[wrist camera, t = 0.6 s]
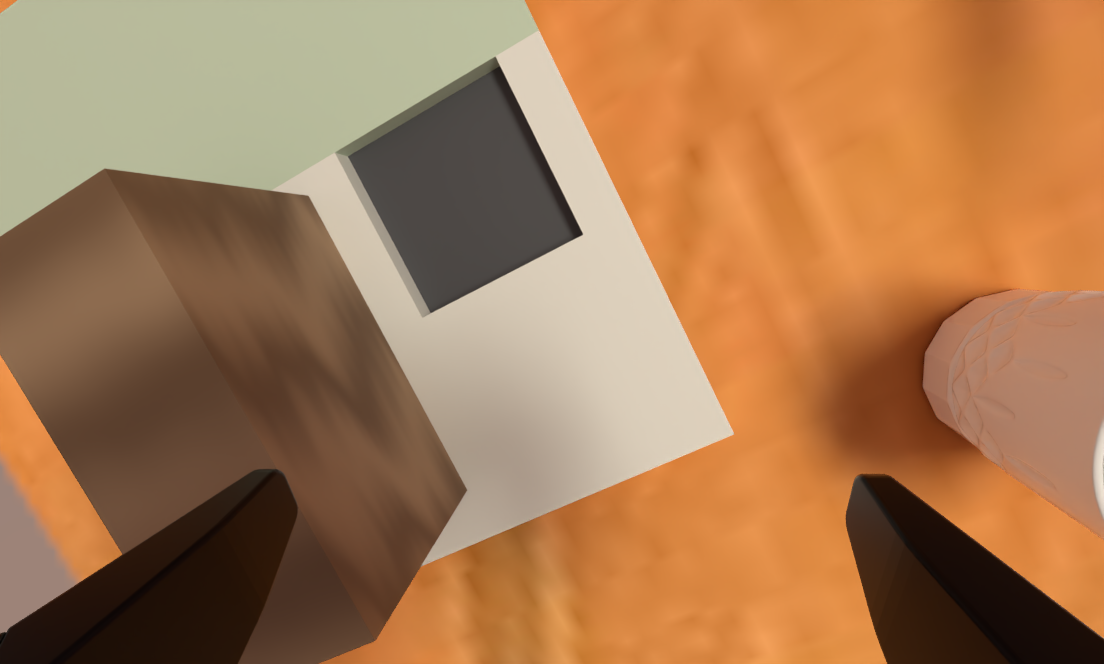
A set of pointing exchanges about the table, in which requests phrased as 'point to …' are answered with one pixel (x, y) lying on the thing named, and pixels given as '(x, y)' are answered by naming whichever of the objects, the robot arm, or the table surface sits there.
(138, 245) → the brown wooden block
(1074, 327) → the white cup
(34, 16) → the trap board
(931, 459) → the table surface
